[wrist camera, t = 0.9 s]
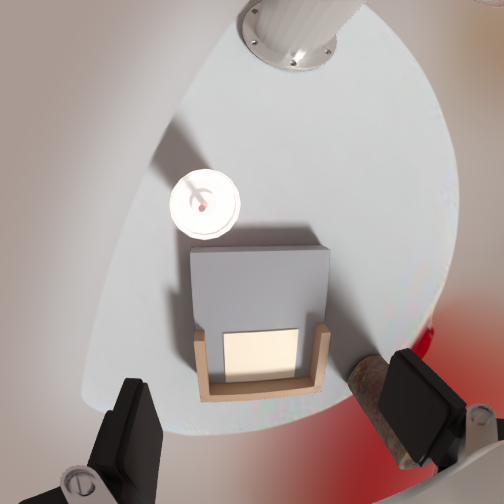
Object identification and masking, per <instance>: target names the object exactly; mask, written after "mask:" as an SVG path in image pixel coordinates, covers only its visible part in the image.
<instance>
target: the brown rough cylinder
mask: <svg viewBox="0 0 504 504" xmlns="http://www.w3.org/2000/svg"><path fill="white" fill-rule="evenodd" d="M388 367H389V364H388V363H387V362H386V361H385V360H384V359H383V358H382V357H381V356H380V355H378V356H368V357H366V358H365V359H363V360H361V362H360V363H358V364H357V366H356V367H355V369H354V370H353V372H352V373H351V374H350V376H349V378H348V386H349V388H350V390H351V392H352V393H353V395H354V396H355V398H356V400H357V401H358V403H359V404H360V406H361V407H362V409H363V410H364V412H365V414H366V415H367V417H368V418H369V420H370V421H371V423H372V424H373V426H374V427H375V429H376V431H377V432H378V434H379V435H380V437H381V438H382V440H383V442H384V443H385V445H386V447H387V448H388V450H389V451H390V453H391V454H392V456H393V458H394V459H395V461H396V463H397V464H398V466H399V468H400V469H411V468H416V467H419V464H418V463H415V462H414V461H413V460H412V458H411V457H410V455H409V454H408V452H407V451H406V449H405V448H404V446H403V445H402V443H401V442H400V440H399V439H398V437H397V436H396V434H395V433H394V431H393V430H392V429H391V427H390V426H389V424H388V423H387V421H386V420H385V418H384V417H383V415H382V414H381V412H380V411H379V409H378V400H379V397H380V394H381V391H382V388H383V385H384V381H385V378H386V375H387V371H388Z"/></svg>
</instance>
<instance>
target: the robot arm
mask: <svg viewBox="0 0 504 504" xmlns="http://www.w3.org/2000/svg"><path fill="white" fill-rule="evenodd" d="M366 1H367V0H262V1H261V2H259V3H257V4H256V5H254V6H253V7H252V8H250V10H249V11H248V12H247V13H246V15H245V17H244V20H243V24H242V34H243V38H244V41H245V42H246V44H247V46H248V47H249V49H250V50H251V51H252V52H253V53H254V54H255V55H256V56H257V57H258V58H259V59H261V60H263V61H264V62H266V63H267V64H270V65H272V66H274V67H276V68H280V69H283V70H288V71H309V70H313V69H316V68H319V67H320V66H322V65H324V64H325V63H326V62H327V61H328V60H329V59H330V58H331V57H332V56H333V54H334V52H335V50H336V45H337V38H336V33H337V32H338V31H339V30H340V29H341V28H342V27H343V26H344V25H345V23H346V22H347V21H348V20H349V19H350V18H351V17H352V16H353V15H354V14H355V13H356V12H357V11H358V10H359V9H360V7H361V6H362V5H363V4H364V3H365V2H366ZM475 1H477V2H479V3H481V4H484V5H486V6H490V7H504V0H475ZM253 44H255V45H253ZM292 65H293V66H292ZM466 405H467V404H466V403H465V402H464V401H463V400H462V399H461V398H460V397H459V396H458V395H457V394H456V393H455V392H454V391H453V390H452V389H451V388H450V387H449V386H448V385H447V384H446V383H445V382H444V381H443V380H442V379H441V378H440V377H439V376H438V375H437V374H436V373H435V372H434V371H433V370H432V369H431V368H430V367H429V366H428V365H426V364H425V363H424V362H423V361H422V360H421V359H420V358H419V357H418V356H417V355H416V354H415V353H414V352H413V351H412V350H411V349H409V348H406V349H403V350H399V351H396V352H395V353H394V355H393V356H392V357H391V360H390V364H389V367H388V371H387V375H386V378H385V381H384V385H383V388H382V391H381V394H380V397H379V400H378V409H379V411H380V412H381V414H382V415H383V417H384V418H385V420H386V421H387V423H388V424H389V426H390V427H391V429H392V430H393V431H394V433H395V434H396V436H397V437H398V439H399V440H400V442H401V443H402V445H403V446H404V448H405V449H406V451H407V452H408V454H409V455H410V457H411V458H412V460H413V461H414V462H415V463H418V464H419V466H420V467H423V466H425V465H427V464H429V463H431V461H433V462H434V464H435V465H434V470H433V475H432V477H430V478H429V479H427V480H425V481H423V482H421V483H419V484H417V485H415V486H413V487H411V488H409V489H406V490H404V491H402V492H400V493H397V494H395V495H393V496H391V497H388V498H385V499H383V500H380V501H378V502H375V503H373V504H504V419H498V418H496V414H495V412H494V410H493V409H492V408H491V407H489V406H487V405H485V404H481V403H480V404H474V405H472V406H470V407H469V408H468V410H466V409H465V407H466ZM162 441H163V430H162V427H161V424H160V421H159V418H158V416H157V413H156V410H155V407H154V403H153V400H152V397H151V394H150V391H149V387H148V384H147V383H143V381H142V380H141V379H138V378H126V379H125V380H124V382H123V385H122V388H121V390H120V393H119V395H118V398H117V401H116V403H115V406H114V409H113V411H112V410H108V411H107V412H106V414H105V416H104V419H103V422H102V424H101V427H100V430H99V432H98V435H97V438H96V441H95V444H94V447H93V449H92V453H91V455H90V458H89V461H88V464H87V466H80V465H77V466H73V467H70V468H68V469H67V470H66V471H65V472H64V473H63V474H62V476H61V478H60V486H59V487H57V488H55V489H52V490H50V491H47V492H45V493H42V494H39V495H37V496H34V497H31V498H29V499H26V500H23V501H22V502H20V503H19V504H155V498H156V489H157V479H158V471H159V463H160V456H161V448H162Z"/></svg>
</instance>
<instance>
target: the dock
mask: <svg viewBox="0 0 504 504" xmlns="http://www.w3.org/2000/svg"><path fill="white" fill-rule="evenodd" d="M329 264H330V249H328V248H326V247H325V246H323V245H278V246H227V247H192V248H191V251H190V268H191V286H192V301H193V314H194V326H195V334H194V350H195V359H196V368H197V376H198V384H199V392H200V399H201V402H229V401H247V400H260V399H270V398H280V397H288V396H296V395H303V394H310V393H317V392H321V391H322V386H323V380H324V375H325V369H326V363H327V356H328V350H329V343H330V336H331V332H330V330H329V329H328V328H327V327H326V325H325V324H324V318H325V309H326V299H327V288H328V277H329Z"/></svg>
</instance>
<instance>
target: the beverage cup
mask: <svg viewBox="0 0 504 504" xmlns="http://www.w3.org/2000/svg"><path fill="white" fill-rule="evenodd" d="M169 205H170V210H171V216H172V219H173V220H174V222H175V223H176V225H177V227H178V228H179V229H180V230H181V231H182V232H184V233H185V234H187V235H188V236H190V237H192V238H197V239H202V240H207V239H212V238H218V237H219V236H221V235H222V234H224V233H226V232H227V231H229V230H230V229H231V227H232V226H233V224H234V223H235V222H236V220H237V219H238V215H239V210H240V206H241V204H240V198H239V191H238V190H237V188H236V187H235V185H234V183H233V182H232V180H231V179H229V178H228V177H227V176H225V175H224V174H222V173H221V172H219V171H215V170H210V169H201V170H196V171H192V172H190V173H189V174H187V175H186V176H184V177H182V178H181V179H180V180H179V182H178V183H177V184H176V186H175V187H174V189H173V190H172V194H171V199H170V204H169Z"/></svg>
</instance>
